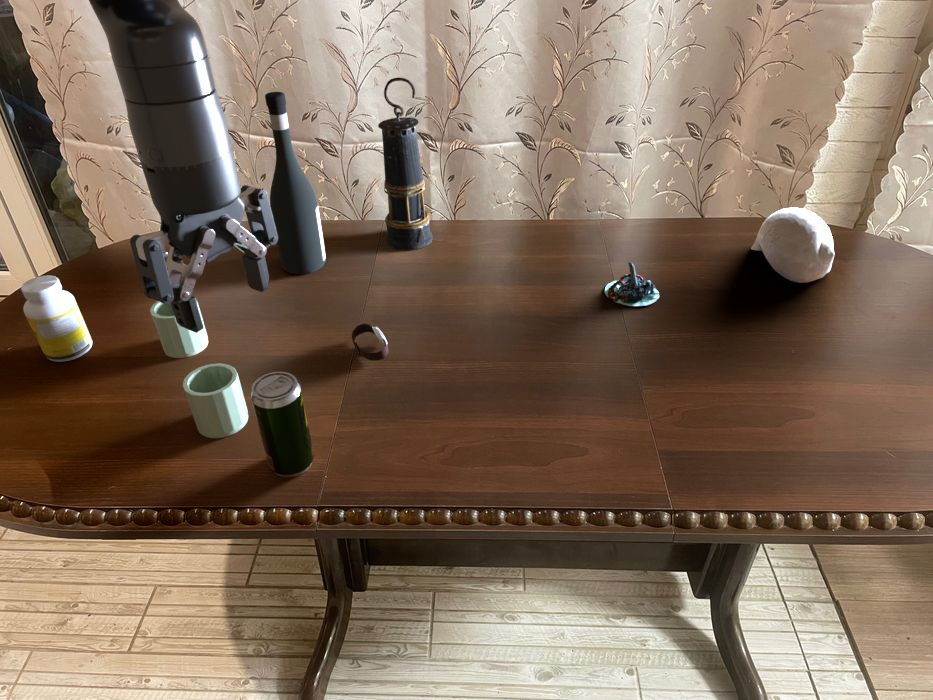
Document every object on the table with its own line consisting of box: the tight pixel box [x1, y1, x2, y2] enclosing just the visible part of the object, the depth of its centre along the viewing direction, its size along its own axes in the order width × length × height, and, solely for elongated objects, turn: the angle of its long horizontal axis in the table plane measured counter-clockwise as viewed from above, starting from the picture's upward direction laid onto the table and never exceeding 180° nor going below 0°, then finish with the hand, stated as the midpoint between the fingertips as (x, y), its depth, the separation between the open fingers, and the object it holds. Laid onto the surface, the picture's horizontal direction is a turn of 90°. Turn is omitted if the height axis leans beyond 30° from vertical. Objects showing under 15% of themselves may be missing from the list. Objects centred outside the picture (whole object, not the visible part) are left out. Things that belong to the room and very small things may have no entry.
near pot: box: [182, 362, 249, 439], centre depth 83 cm, size 6×6×7 cm
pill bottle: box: [20, 275, 93, 363], centre depth 94 cm, size 6×6×12 cm
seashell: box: [750, 207, 835, 284], centre depth 115 cm, size 15×14×15 cm
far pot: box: [149, 297, 209, 359], centre depth 96 cm, size 6×6×7 cm
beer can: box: [250, 371, 315, 479], centre depth 75 cm, size 5×5×12 cm
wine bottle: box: [264, 91, 327, 275], centre depth 109 cm, size 8×8×30 cm
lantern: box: [377, 77, 434, 251], centre depth 118 cm, size 9×9×30 cm
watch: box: [351, 323, 390, 362], centre depth 96 cm, size 8×5×4 cm, turn 33°
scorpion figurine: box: [604, 261, 660, 307], centre depth 109 cm, size 8×7×8 cm
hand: (227, 308), depth 65 cm, fingers open, 8 cm apart
